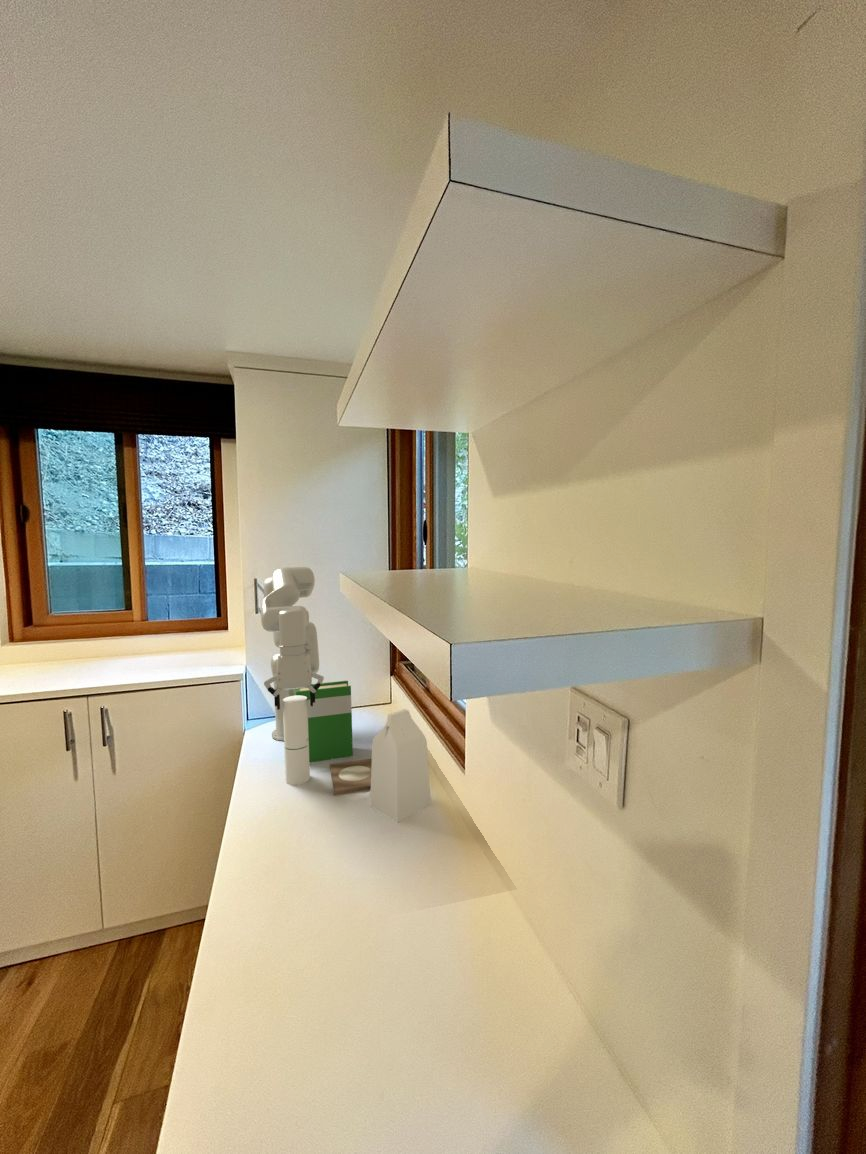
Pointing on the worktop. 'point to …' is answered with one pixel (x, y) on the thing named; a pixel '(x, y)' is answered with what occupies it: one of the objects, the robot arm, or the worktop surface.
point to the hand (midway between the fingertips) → (295, 706)
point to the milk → (399, 768)
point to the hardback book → (329, 721)
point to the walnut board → (351, 776)
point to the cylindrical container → (296, 739)
